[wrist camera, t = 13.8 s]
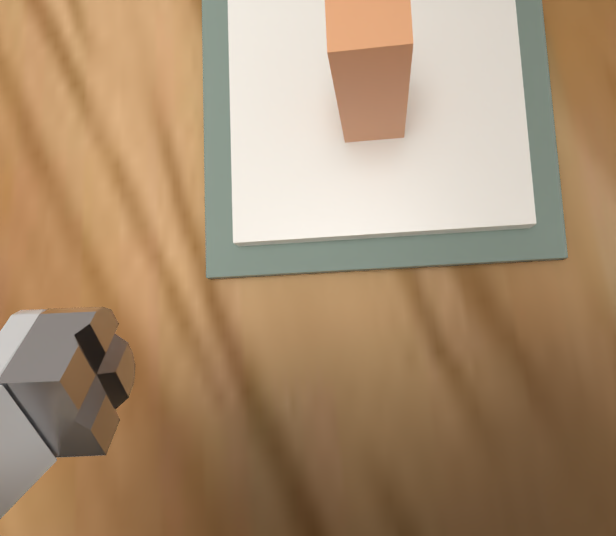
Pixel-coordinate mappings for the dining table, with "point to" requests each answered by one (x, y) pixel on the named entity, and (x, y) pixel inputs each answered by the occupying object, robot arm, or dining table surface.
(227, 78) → the mat
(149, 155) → the dining table surface
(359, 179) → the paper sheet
